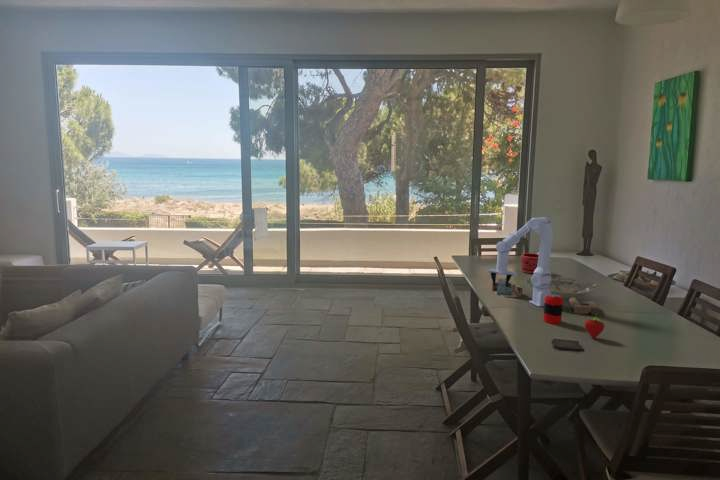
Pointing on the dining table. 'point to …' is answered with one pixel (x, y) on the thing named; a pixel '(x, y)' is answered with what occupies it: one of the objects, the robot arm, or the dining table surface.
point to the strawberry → (594, 327)
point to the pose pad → (508, 295)
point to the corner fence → (516, 288)
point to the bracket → (504, 287)
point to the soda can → (553, 309)
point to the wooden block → (584, 307)
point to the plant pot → (529, 262)
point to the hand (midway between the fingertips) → (500, 287)
